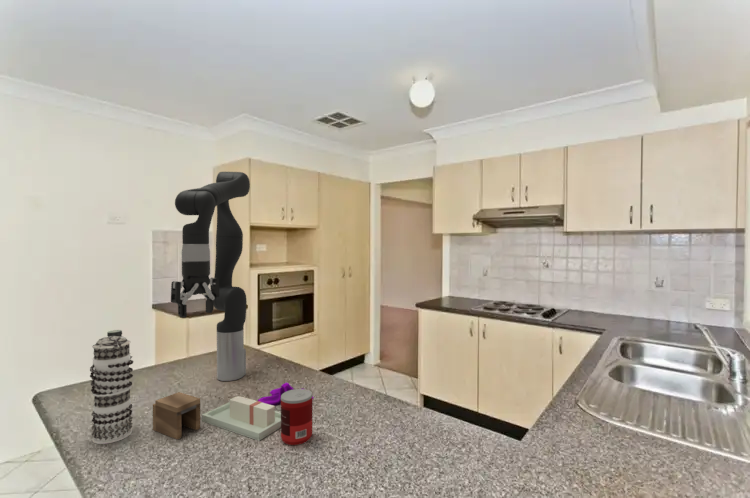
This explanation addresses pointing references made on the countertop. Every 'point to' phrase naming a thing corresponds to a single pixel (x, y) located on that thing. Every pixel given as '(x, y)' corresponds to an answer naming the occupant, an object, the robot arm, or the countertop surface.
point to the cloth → (276, 395)
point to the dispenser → (176, 414)
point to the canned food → (296, 416)
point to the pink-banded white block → (252, 411)
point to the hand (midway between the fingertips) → (196, 315)
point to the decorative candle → (111, 390)
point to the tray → (239, 423)
